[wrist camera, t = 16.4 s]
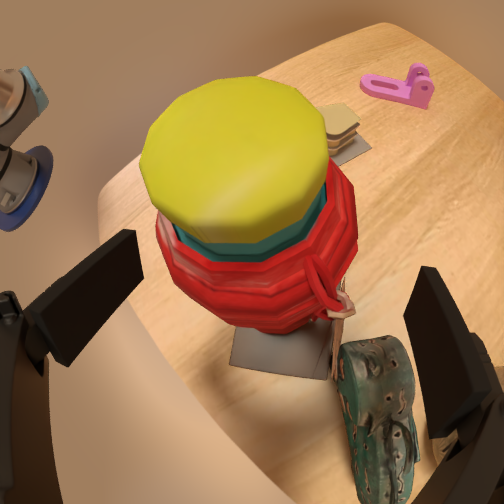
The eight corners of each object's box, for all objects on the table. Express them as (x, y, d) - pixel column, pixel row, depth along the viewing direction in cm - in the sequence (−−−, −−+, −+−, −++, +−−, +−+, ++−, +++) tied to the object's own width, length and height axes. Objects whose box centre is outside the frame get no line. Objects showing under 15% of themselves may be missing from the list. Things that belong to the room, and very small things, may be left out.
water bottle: (358, 321, 27) (558, 238, 4) (300, 376, 27) (338, 536, 3) (277, 240, 31) (236, 9, 7) (221, 291, 30) (40, 146, 7)
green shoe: (316, 344, 33) (346, 350, 14) (366, 330, 33) (446, 315, 14) (342, 481, 27) (374, 576, 8) (389, 466, 26) (453, 544, 7)
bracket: (420, 91, 43) (430, 66, 36) (425, 109, 41) (436, 83, 35) (359, 77, 45) (363, 49, 38) (360, 94, 43) (366, 65, 37)
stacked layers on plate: (336, 112, 43) (339, 88, 37) (371, 148, 40) (379, 125, 35) (286, 135, 42) (285, 111, 37) (321, 175, 39) (325, 152, 34)
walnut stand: (239, 361, 34) (228, 365, 28) (258, 251, 37) (252, 235, 32) (320, 373, 32) (326, 380, 26) (336, 261, 36) (344, 247, 30)
